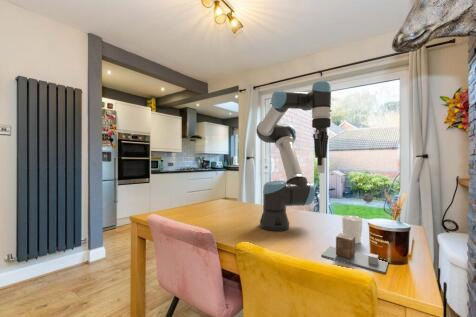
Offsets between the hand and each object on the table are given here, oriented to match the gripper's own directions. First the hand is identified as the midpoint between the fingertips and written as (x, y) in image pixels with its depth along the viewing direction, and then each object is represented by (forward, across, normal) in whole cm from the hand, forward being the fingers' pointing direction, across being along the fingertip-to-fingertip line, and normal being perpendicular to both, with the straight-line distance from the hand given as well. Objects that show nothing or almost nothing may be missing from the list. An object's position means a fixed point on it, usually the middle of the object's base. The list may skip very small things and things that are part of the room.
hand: (320, 172), depth 101 cm
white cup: (+30, +8, -11) cm, 33 cm away
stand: (+29, -11, -16) cm, 35 cm away
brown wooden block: (+28, -11, -13) cm, 33 cm away
